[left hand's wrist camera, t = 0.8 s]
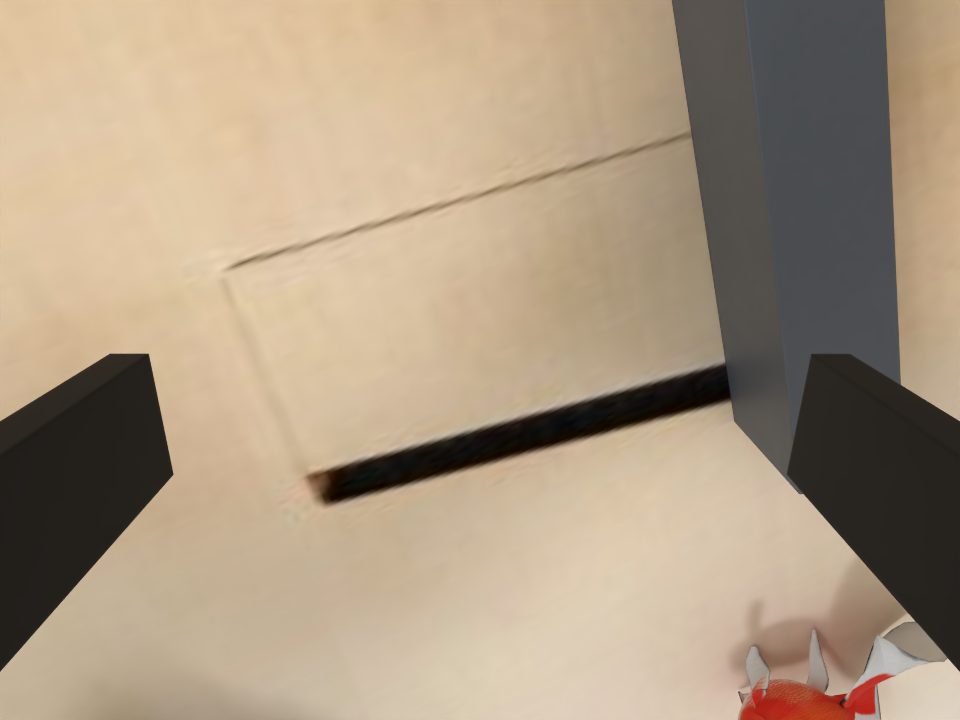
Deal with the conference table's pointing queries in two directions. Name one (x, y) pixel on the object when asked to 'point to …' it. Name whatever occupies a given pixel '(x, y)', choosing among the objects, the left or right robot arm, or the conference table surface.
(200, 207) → the conference table surface
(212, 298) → the conference table surface
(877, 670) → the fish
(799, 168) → the bar
